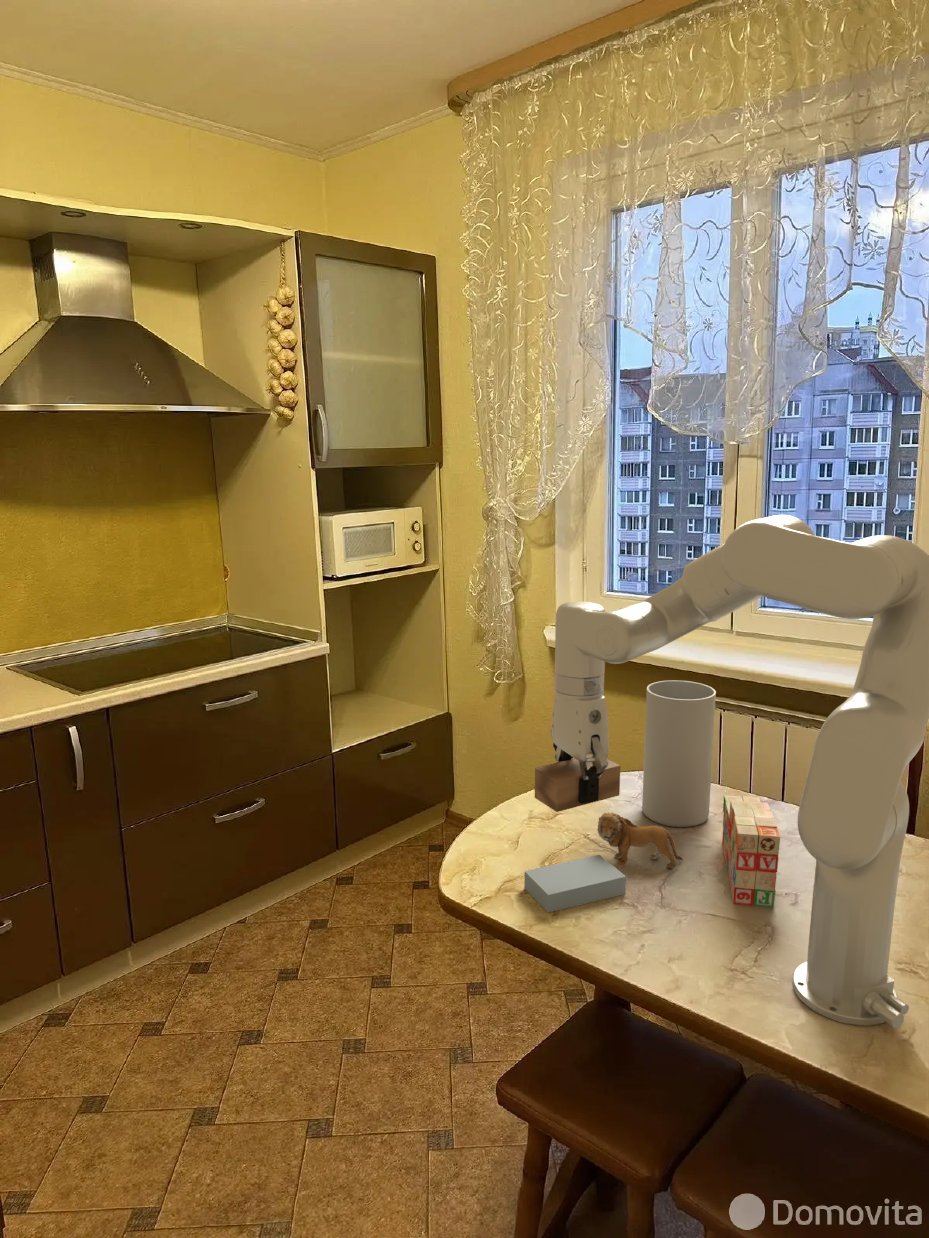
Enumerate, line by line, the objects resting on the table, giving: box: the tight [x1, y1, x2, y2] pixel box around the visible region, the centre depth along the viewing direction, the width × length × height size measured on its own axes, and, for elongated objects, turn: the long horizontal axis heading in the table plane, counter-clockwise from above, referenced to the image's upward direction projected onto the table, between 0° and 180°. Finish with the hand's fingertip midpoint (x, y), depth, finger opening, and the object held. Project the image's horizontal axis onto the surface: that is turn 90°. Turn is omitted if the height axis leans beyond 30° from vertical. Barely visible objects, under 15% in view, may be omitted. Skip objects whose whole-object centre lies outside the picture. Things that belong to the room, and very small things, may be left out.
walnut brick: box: [534, 754, 621, 813], centre depth 136 cm, size 6×12×5 cm, turn 119°
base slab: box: [524, 854, 627, 913], centre depth 139 cm, size 8×14×3 cm, turn 113°
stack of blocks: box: [721, 794, 781, 909], centre depth 144 cm, size 21×6×12 cm, turn 169°
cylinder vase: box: [641, 679, 717, 828], centre depth 165 cm, size 12×12×25 cm
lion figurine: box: [597, 812, 684, 870], centre depth 148 cm, size 15×5×9 cm, turn 89°
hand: (576, 792), depth 136 cm, fingers closed on walnut brick, 6 cm apart
